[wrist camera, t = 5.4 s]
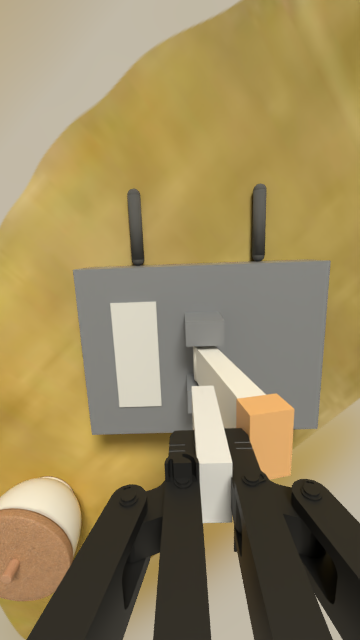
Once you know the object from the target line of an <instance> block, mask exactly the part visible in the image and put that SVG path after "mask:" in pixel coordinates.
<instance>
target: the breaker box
mask: <svg viewBox="0 0 360 640" xmlns="http://www.w3.org/2000/svg"><path fill="white" fill-rule="evenodd" d="M329 273H330V261H327V260H281V261H253V262H225V263H197V264H169V265H142V266H114V267H90V268H83V269H76V270H73V275H74V283H75V292H76V301H77V309H78V318H79V326H80V335H81V344H82V352H83V361H84V369H85V378H86V387H87V395H88V404H89V412H90V421H91V430H92V435H101V434H138V433H173V432H174V431H178V430H193V420H192V386H199V385H198V383H197V381H195V380H194V360H193V346H215V347H216V348H218V349H219V350H220V351H221V352H222V353H223V354H224V355H225V356H226V357H227V358H228V359H229V360H230V361H231V362H232V363H233V364H234V365H235V366H236V367H238V368H239V369H240V370H241V371H242V372H243V373H244V374H245V375H246V376H247V377H248V378H249V379H250V380H251V381H252V382H253V383H254V384H255V385H256V386H258V387H259V388H260V389H261V390H262V391H263V392H264V393H265V394H266V395H268V394H275V393H277V394H278V395H279V396H280V397H281V398H283V399H284V400H285V401H286V402H287V403H288V404H289V405H291V406H292V407H293V408H294V426H293V429H317V427H318V414H319V401H320V388H321V376H322V363H323V350H324V337H325V325H326V312H327V299H328V286H329ZM224 428H225V427H224Z"/></svg>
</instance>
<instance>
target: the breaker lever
mask: <svg viewBox="0 0 360 640" xmlns="http://www.w3.org/2000/svg"><path fill="white" fill-rule="evenodd" d="M193 360H194V380H195V381H197V383H198V385H199V386H214V390H215V394H216V398H217V402H218V406H219V410H220V414H221V418H222V422H223V426H224V427H225V428H242V429H243V430H244V431H245V432H246V433H247V434H248V437H249V439H250V443H251V445H252V448H253V450H254V453H255V456H256V458H257V461H258V464H259V467H260V469H261V471H262V472H263V473H265V474H266V475H267V477H268V478H269V480H270V479H275V478H279V477H284V476H290V475H291V460H292V443H293V426H294V408H293V407H292V406H291V405H289V404H288V403H287V402H286V401H285V400H284V399H283V398H281V397H280V396H279V395H278V394H277V393H275V394H268V395H266V394H265V393H264V392H263V391H262V390H261V389H260V388H259V387H258V386H256V385H255V384H254V383H253V382H252V381H251V380H250V379H249V378H248V377H247V376H246V375H245V374H244V373H243V372H242V371H241V370H240V369H239V368H238V367H236V366H235V365H234V364H233V363H232V362H231V361H230V360H229V359H228V358H227V357H226V356H225V355H224V354H223V353H222V352H221V351H220V350H219V349H218V348H216V347H215V346H193Z"/></svg>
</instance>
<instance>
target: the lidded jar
mask: <svg viewBox="0 0 360 640" xmlns="http://www.w3.org/2000/svg"><path fill="white" fill-rule="evenodd" d="M80 531H81V510H80V506H79V502H78V500H77V498H76V496H75V495H74V492H73V490H72V489H71V487H70V486H69V485H68V484H67V483H66V482H65V481H63V480H61V479H59V478H56V477H50V476H46V477H40V478H35V479H30V480H27V481H24V482H22V483H19V484H17V485H16V486H14V487H12V488H11V489H9V490H8V491H7V492H6V493H4V494H3V495H2V496H1V497H0V597H1V598H4V599H9V600H15V601H31V600H37V599H41V598H44V597H46V596H49V595H50V594H52V593H54V592H55V591H56V589H57V587H58V586H59V584H60V582H61V581H62V579H63V577H64V576H65V574H66V572H67V571H68V569H69V567H70V565H71V564H72V562H73V558H74V554H75V551H76V548H77V545H78V541H79V537H80Z"/></svg>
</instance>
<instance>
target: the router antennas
mask: <svg viewBox="0 0 360 640" xmlns="http://www.w3.org/2000/svg"><path fill="white" fill-rule="evenodd" d="M127 197H128V211H129V225H130V239H131V253H132V262H133V264H134V265H136V266H140V265H142V264H143V262H144V250H143V234H142V218H141V202H140V193H139V191H138V190H136V189H131V190H129V191H128V194H127ZM265 221H266V186H265V185H264V184H257V185H256V186H255V187H254V190H253V232H252V258H253V260H255V261H261V260H263V258H264V255H265Z"/></svg>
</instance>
